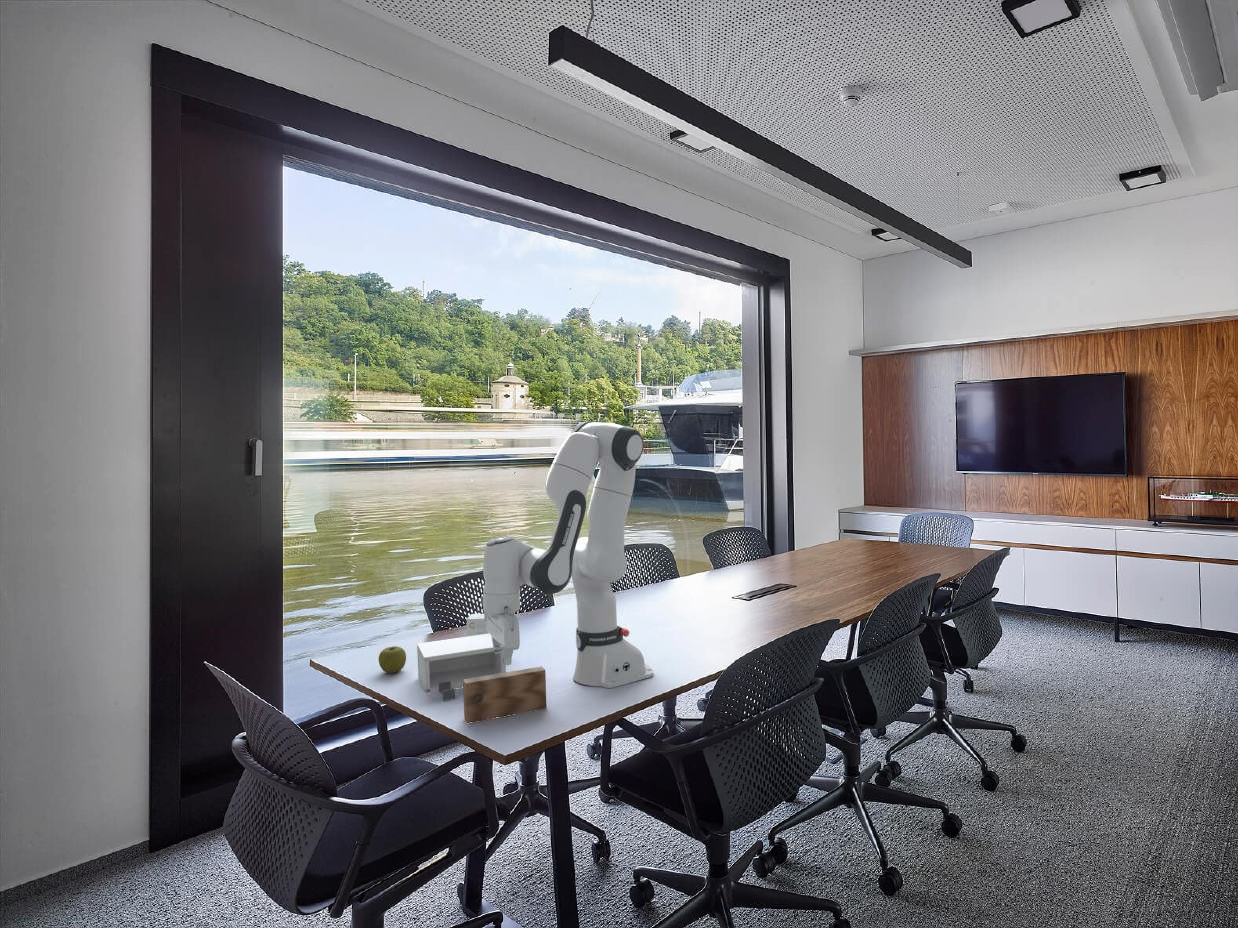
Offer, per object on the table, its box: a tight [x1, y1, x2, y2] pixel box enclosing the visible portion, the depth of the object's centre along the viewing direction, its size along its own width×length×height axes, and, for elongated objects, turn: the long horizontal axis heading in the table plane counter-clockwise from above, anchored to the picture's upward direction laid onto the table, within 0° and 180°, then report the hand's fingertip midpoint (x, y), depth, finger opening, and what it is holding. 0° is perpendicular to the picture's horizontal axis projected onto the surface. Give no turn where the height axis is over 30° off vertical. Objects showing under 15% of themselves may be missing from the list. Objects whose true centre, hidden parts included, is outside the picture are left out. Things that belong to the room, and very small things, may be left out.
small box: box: [466, 613, 489, 637], centre depth 219 cm, size 8×6×13 cm
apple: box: [378, 645, 407, 674], centre depth 208 cm, size 8×8×7 cm
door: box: [462, 666, 548, 724], centre depth 174 cm, size 20×4×10 cm, turn 114°
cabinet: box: [416, 634, 507, 701], centre depth 197 cm, size 22×21×10 cm
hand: (502, 658), depth 173 cm, fingers open, 8 cm apart
